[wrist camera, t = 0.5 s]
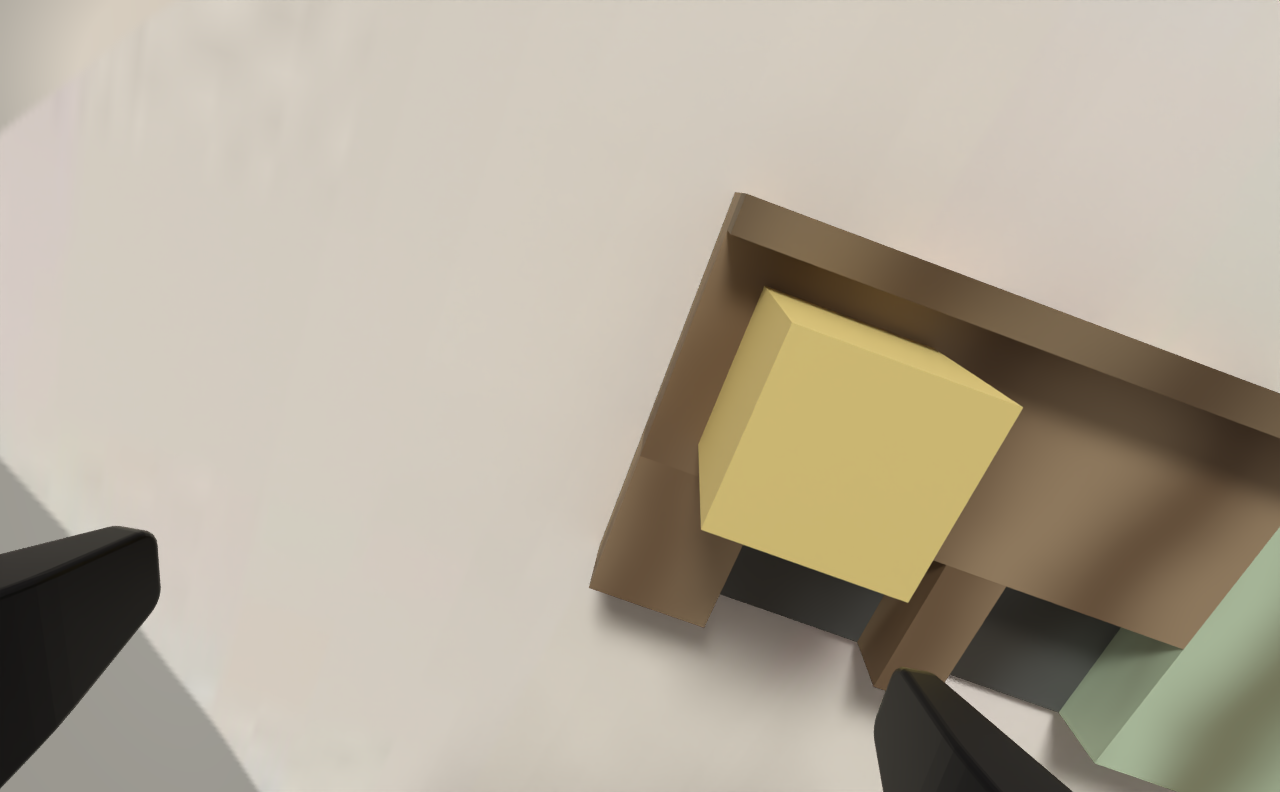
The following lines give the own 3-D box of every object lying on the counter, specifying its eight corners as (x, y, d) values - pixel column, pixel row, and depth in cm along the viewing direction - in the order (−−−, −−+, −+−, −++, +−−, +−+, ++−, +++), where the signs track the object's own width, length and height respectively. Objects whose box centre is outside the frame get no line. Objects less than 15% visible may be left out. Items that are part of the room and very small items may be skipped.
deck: (1510, 482, 20) (1797, 586, 15) (1248, 773, 24) (1402, 935, 19) (735, 192, 19) (751, 194, 14) (599, 546, 23) (572, 650, 18)
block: (933, 348, 18) (1023, 407, 13) (854, 500, 19) (907, 602, 15) (764, 285, 17) (792, 322, 13) (698, 444, 19) (700, 530, 14)
